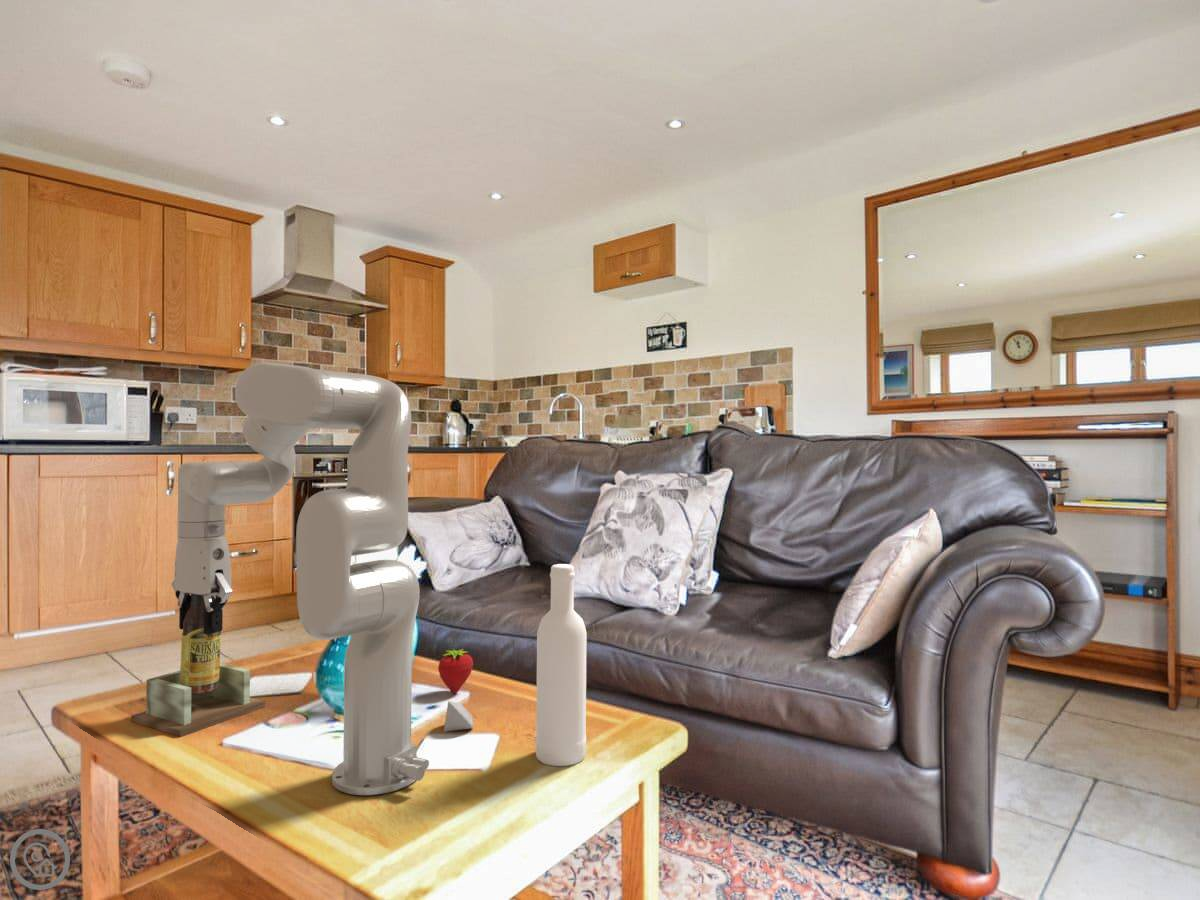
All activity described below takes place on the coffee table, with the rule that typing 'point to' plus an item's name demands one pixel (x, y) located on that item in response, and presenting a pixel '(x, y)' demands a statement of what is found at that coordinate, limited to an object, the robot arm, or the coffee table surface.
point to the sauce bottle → (199, 651)
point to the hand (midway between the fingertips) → (200, 629)
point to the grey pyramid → (457, 718)
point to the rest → (196, 702)
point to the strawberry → (455, 669)
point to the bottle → (561, 676)
